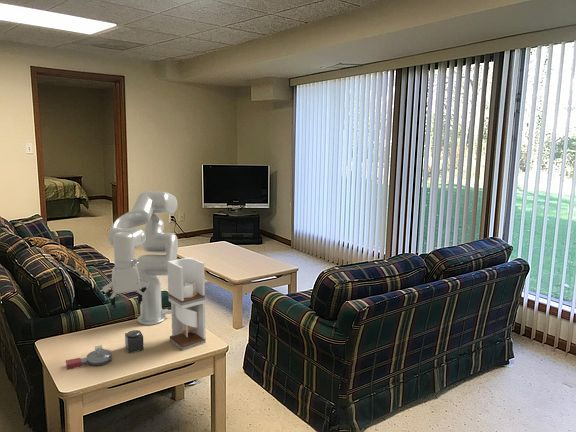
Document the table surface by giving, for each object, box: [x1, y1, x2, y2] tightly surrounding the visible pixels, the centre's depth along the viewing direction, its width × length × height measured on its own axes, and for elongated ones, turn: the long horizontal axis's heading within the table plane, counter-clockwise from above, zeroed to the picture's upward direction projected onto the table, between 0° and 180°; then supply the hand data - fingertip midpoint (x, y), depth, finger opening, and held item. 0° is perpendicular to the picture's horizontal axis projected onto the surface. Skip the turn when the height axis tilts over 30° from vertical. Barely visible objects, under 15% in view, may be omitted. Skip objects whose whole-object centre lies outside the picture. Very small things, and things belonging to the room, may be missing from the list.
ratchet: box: [65, 344, 113, 371], centre depth 175 cm, size 16×9×6 cm, turn 120°
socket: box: [124, 329, 145, 354], centre depth 187 cm, size 6×6×7 cm
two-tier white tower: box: [167, 256, 207, 351], centre depth 191 cm, size 11×11×35 cm
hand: (126, 305), depth 183 cm, fingers open, 9 cm apart
